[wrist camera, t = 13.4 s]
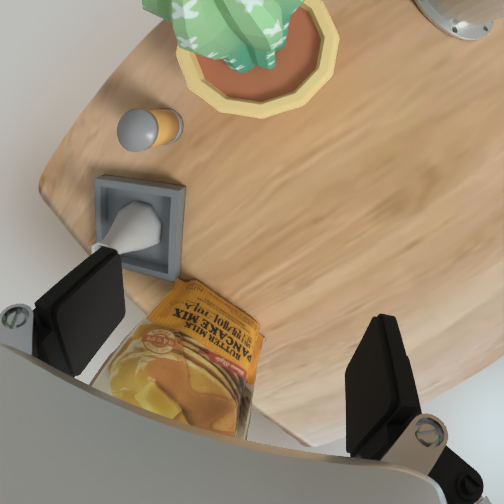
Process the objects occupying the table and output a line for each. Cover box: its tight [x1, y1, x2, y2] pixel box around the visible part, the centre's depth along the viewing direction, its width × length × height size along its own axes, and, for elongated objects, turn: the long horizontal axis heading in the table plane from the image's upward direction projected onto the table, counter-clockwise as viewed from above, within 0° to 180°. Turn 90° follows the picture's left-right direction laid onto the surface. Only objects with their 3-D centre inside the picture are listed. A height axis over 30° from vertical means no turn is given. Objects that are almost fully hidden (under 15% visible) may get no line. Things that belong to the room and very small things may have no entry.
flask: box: [91, 201, 162, 255], centre depth 37 cm, size 7×7×10 cm
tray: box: [95, 175, 186, 282], centre depth 41 cm, size 13×13×2 cm
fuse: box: [117, 109, 183, 152], centre depth 32 cm, size 5×5×8 cm
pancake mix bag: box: [89, 278, 266, 440], centre depth 33 cm, size 7×19×28 cm, turn 54°
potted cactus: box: [142, 0, 340, 119], centre depth 19 cm, size 15×15×25 cm
